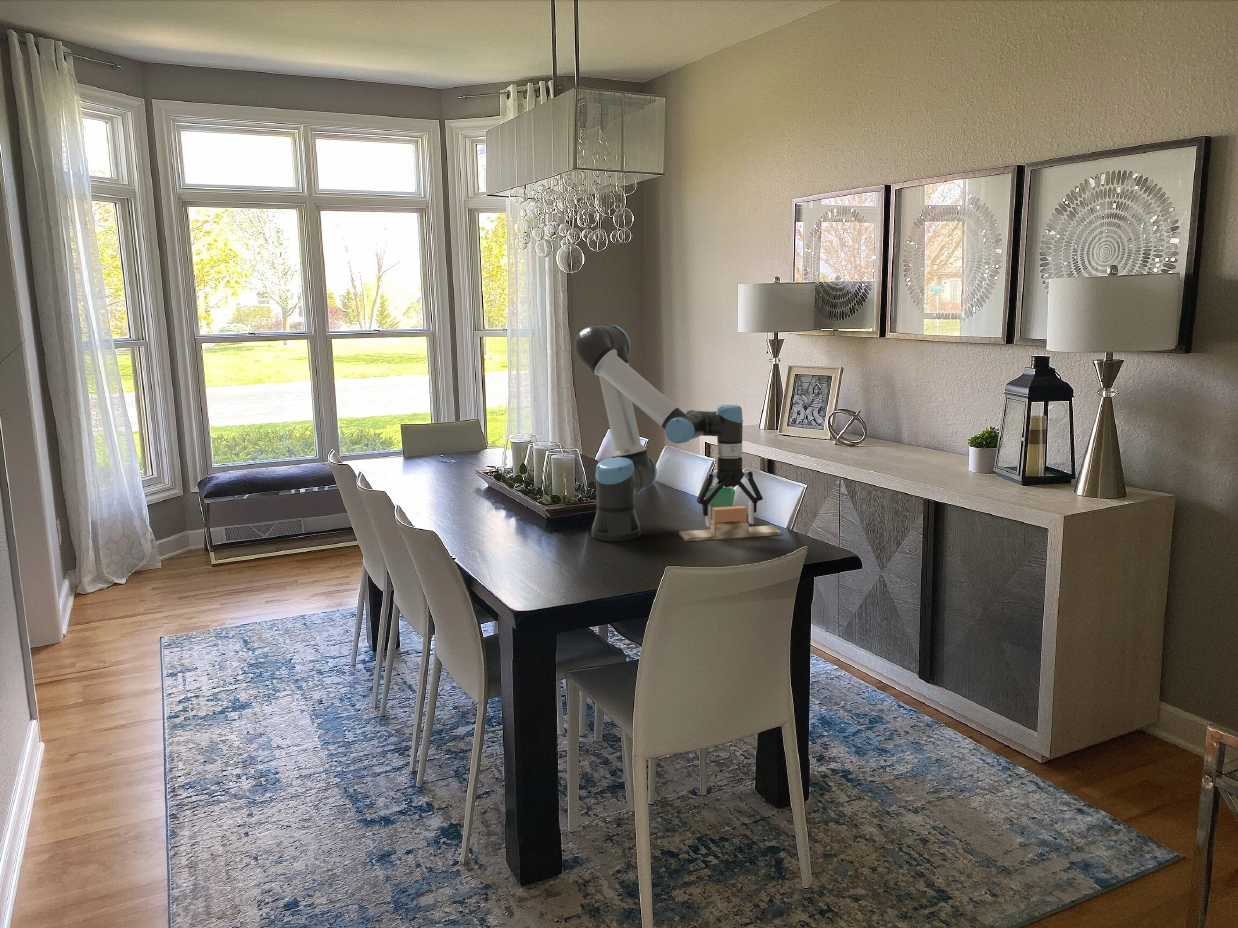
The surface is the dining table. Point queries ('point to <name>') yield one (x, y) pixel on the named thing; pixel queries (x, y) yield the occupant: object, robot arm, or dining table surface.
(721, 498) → the green tapered cup
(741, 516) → the clip
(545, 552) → the dining table surface
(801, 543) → the dining table surface
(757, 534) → the rail
